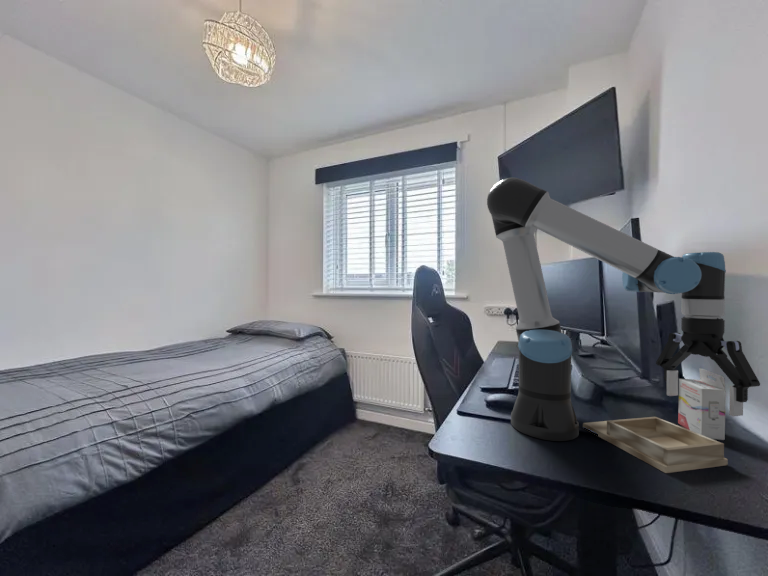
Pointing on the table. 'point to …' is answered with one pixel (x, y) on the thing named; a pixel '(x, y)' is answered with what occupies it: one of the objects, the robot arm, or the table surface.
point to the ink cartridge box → (703, 405)
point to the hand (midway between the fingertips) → (701, 404)
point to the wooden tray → (661, 443)
